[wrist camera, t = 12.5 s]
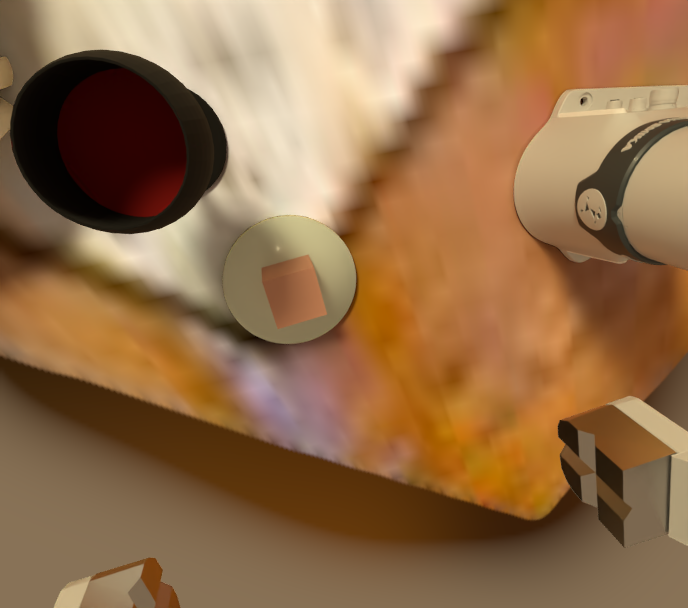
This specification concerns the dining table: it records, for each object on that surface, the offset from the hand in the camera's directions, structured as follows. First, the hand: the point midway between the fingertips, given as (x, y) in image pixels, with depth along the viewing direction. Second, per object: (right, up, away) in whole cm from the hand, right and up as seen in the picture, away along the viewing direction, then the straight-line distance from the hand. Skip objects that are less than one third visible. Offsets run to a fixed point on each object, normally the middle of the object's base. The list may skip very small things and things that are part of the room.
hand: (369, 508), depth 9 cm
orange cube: (-6, +6, +39) cm, 40 cm away
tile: (-6, +6, +40) cm, 41 cm away
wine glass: (-17, +19, +34) cm, 42 cm away
